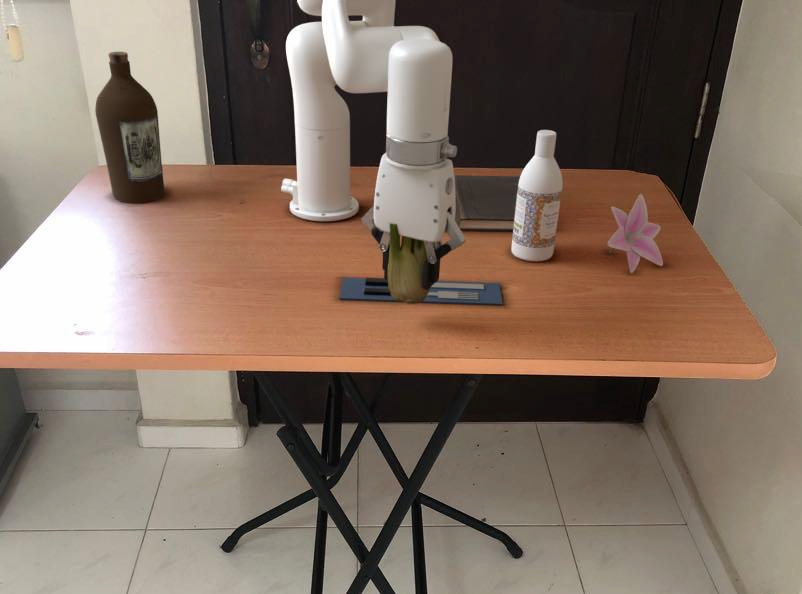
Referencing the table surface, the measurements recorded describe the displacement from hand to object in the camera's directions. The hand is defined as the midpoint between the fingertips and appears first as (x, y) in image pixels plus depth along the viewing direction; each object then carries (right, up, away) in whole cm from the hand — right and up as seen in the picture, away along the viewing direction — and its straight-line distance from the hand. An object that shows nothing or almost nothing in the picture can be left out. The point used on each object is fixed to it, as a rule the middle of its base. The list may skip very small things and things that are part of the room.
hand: (410, 279), depth 113 cm
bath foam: (+21, +8, +25) cm, 33 cm away
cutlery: (+2, 0, +12) cm, 12 cm away
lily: (+36, +6, +23) cm, 43 cm away
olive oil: (-50, +22, +43) cm, 70 cm away
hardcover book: (+17, +20, +42) cm, 49 cm away
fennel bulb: (0, -3, +2) cm, 3 cm away
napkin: (+2, 0, +12) cm, 12 cm away
